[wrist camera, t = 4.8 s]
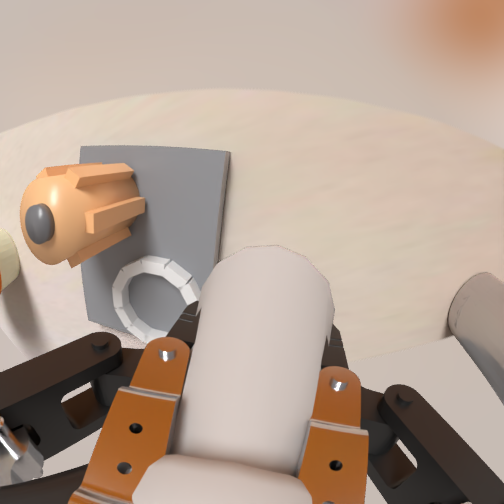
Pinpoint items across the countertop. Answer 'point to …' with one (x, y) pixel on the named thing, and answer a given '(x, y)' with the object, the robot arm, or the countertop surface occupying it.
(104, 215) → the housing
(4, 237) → the reusable coffee cup
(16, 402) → the robot arm
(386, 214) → the countertop surface
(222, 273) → the salt shaker
